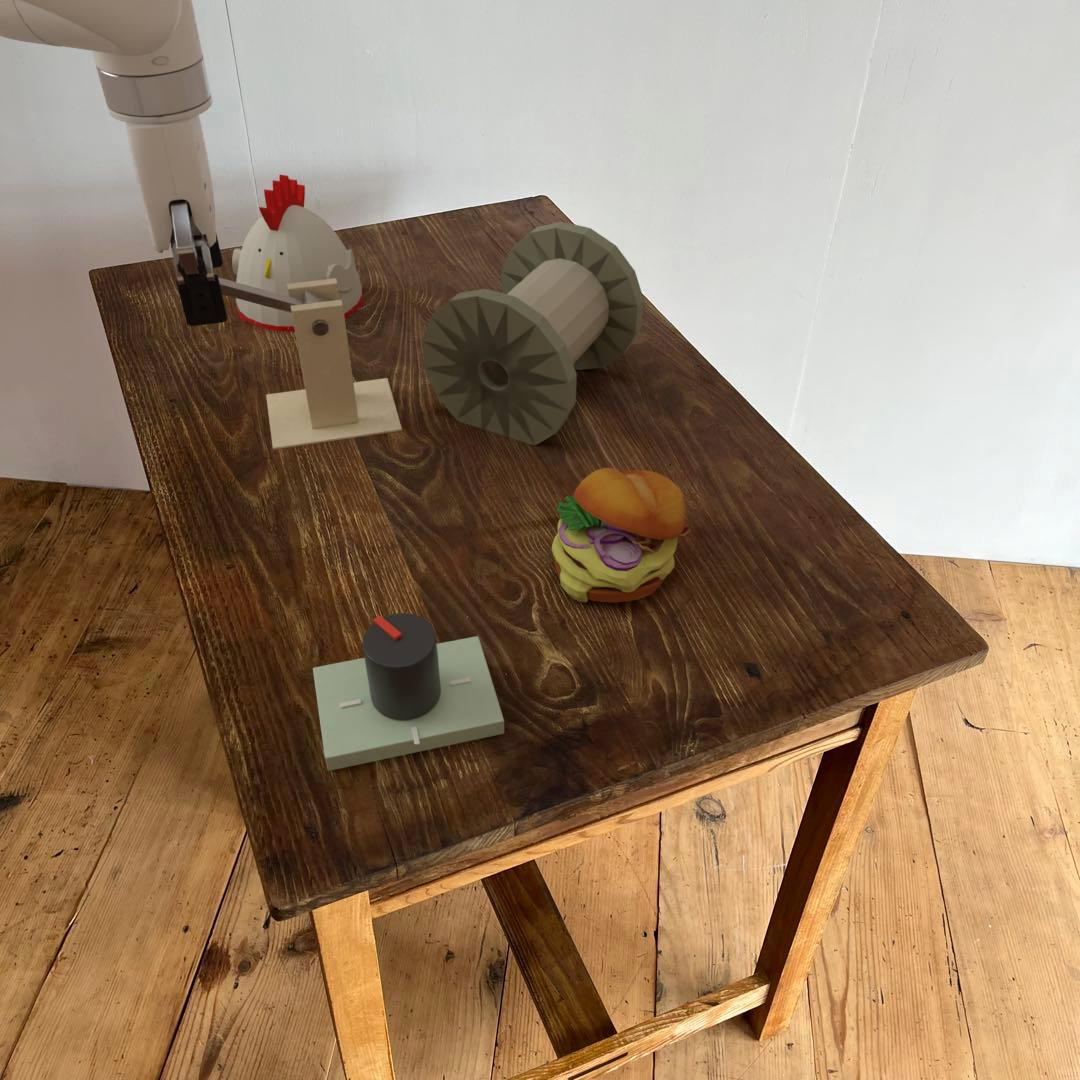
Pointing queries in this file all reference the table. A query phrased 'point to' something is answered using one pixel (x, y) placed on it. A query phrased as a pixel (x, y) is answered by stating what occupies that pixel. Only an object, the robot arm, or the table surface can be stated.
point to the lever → (267, 296)
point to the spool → (534, 333)
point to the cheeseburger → (618, 535)
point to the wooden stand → (327, 380)
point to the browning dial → (402, 665)
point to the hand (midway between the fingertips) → (206, 293)
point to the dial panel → (372, 736)
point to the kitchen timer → (291, 256)
